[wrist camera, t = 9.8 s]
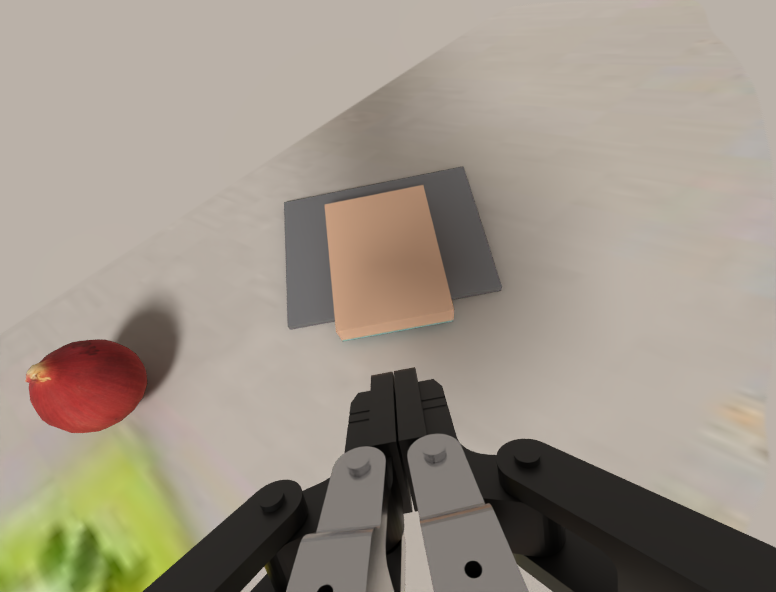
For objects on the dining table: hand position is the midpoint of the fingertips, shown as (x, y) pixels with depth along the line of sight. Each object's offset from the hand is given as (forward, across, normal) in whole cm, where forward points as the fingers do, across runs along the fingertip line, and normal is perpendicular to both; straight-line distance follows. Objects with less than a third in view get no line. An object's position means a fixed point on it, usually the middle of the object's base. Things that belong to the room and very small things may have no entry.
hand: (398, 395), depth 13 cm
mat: (+20, 0, -2) cm, 20 cm away
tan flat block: (+13, 0, +3) cm, 14 cm away
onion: (+14, +20, +5) cm, 25 cm away
